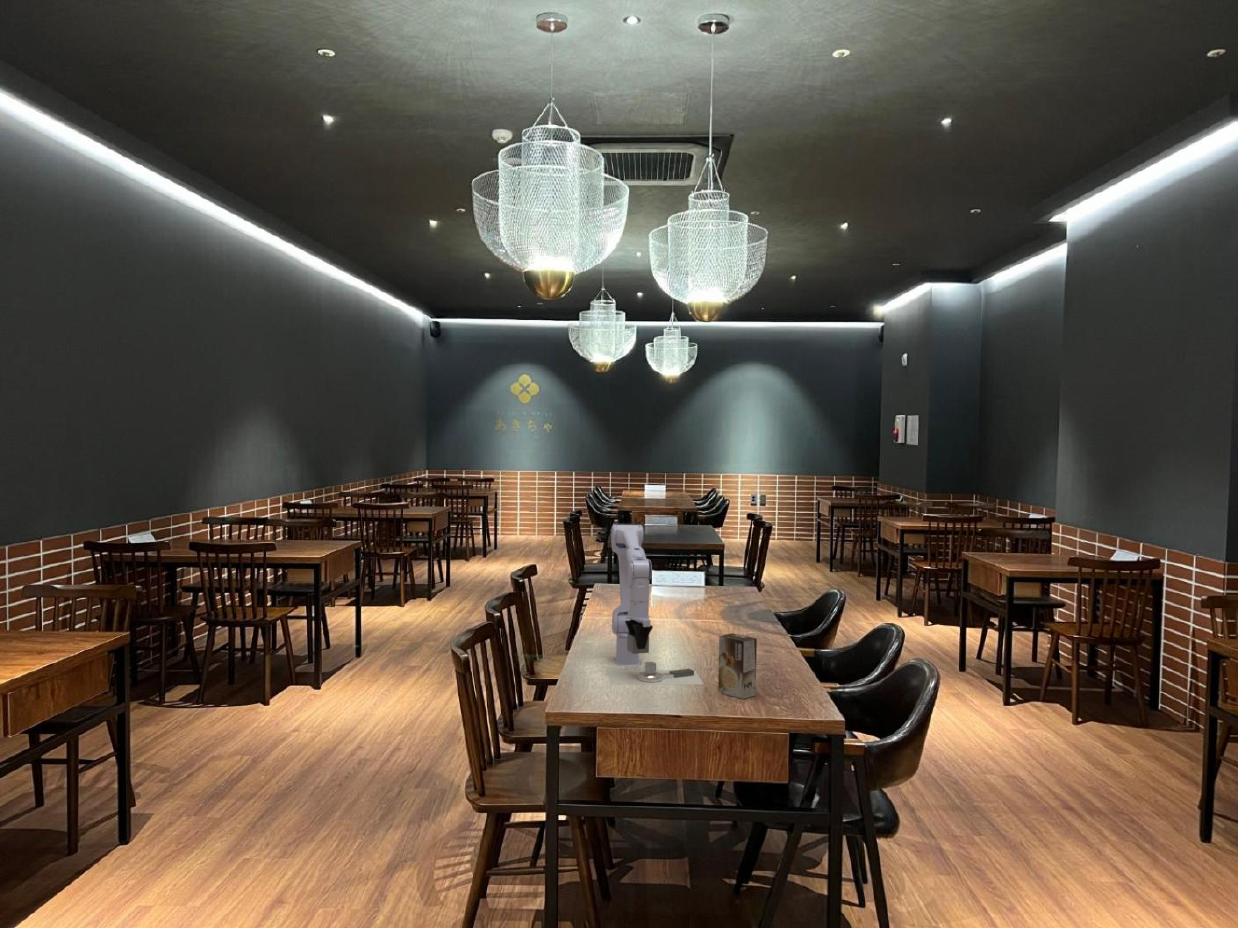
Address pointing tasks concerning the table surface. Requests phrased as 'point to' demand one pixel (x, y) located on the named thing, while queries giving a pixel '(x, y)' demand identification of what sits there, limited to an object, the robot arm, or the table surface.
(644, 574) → the robot arm
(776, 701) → the table surface
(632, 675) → the mat
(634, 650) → the socket
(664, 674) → the ratchet
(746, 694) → the coffee box
